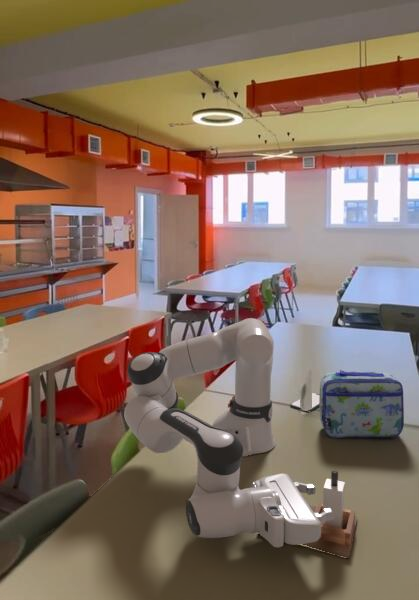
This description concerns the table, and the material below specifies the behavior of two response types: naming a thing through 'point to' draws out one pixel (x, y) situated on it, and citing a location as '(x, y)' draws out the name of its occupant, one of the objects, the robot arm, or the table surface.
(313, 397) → the phone case
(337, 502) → the connector plug
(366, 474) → the table surface
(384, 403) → the lunch box
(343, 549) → the board
